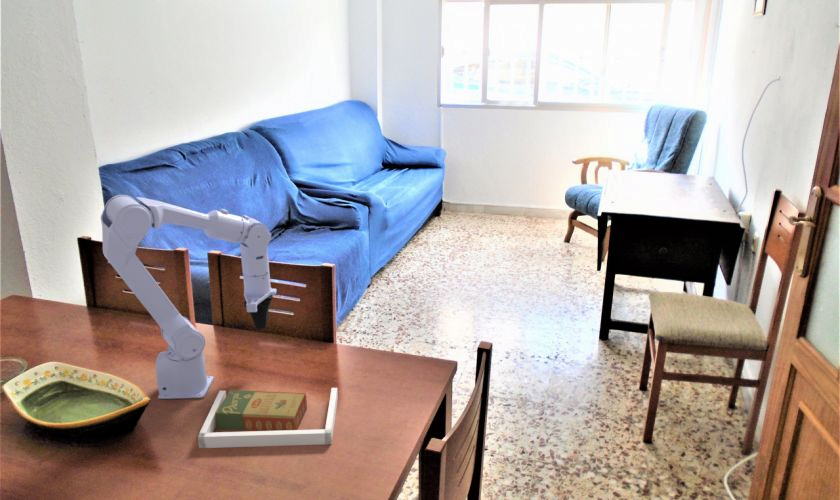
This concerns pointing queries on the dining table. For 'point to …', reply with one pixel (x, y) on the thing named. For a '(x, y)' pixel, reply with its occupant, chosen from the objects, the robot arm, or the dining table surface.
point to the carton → (261, 411)
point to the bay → (266, 437)
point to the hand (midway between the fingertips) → (261, 327)
